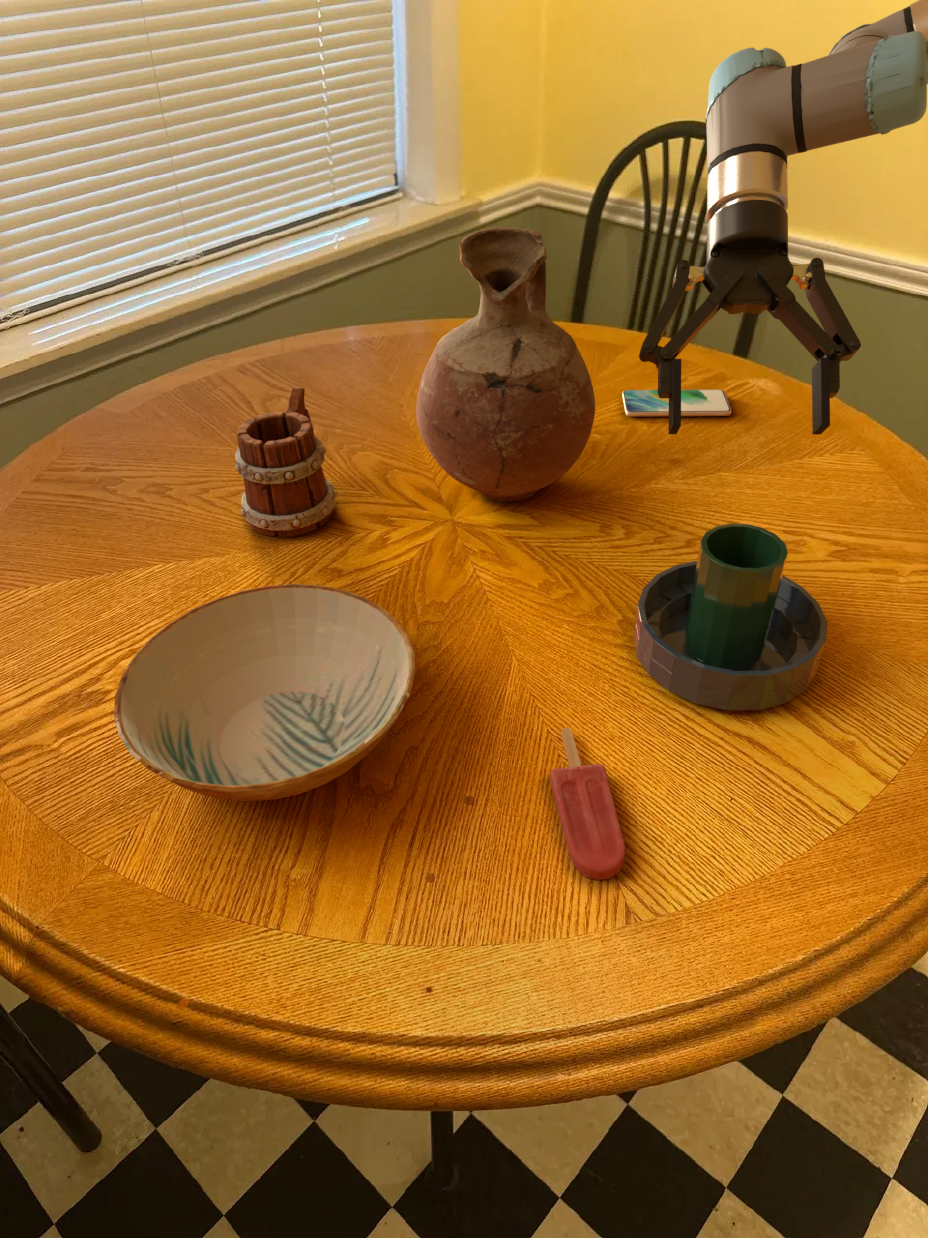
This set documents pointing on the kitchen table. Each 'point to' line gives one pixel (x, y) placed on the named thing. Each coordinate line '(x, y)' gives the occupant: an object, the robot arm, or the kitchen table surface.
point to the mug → (283, 472)
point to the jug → (506, 378)
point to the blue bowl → (762, 686)
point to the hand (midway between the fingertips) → (747, 430)
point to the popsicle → (588, 815)
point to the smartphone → (690, 403)
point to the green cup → (734, 595)
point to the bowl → (265, 691)
